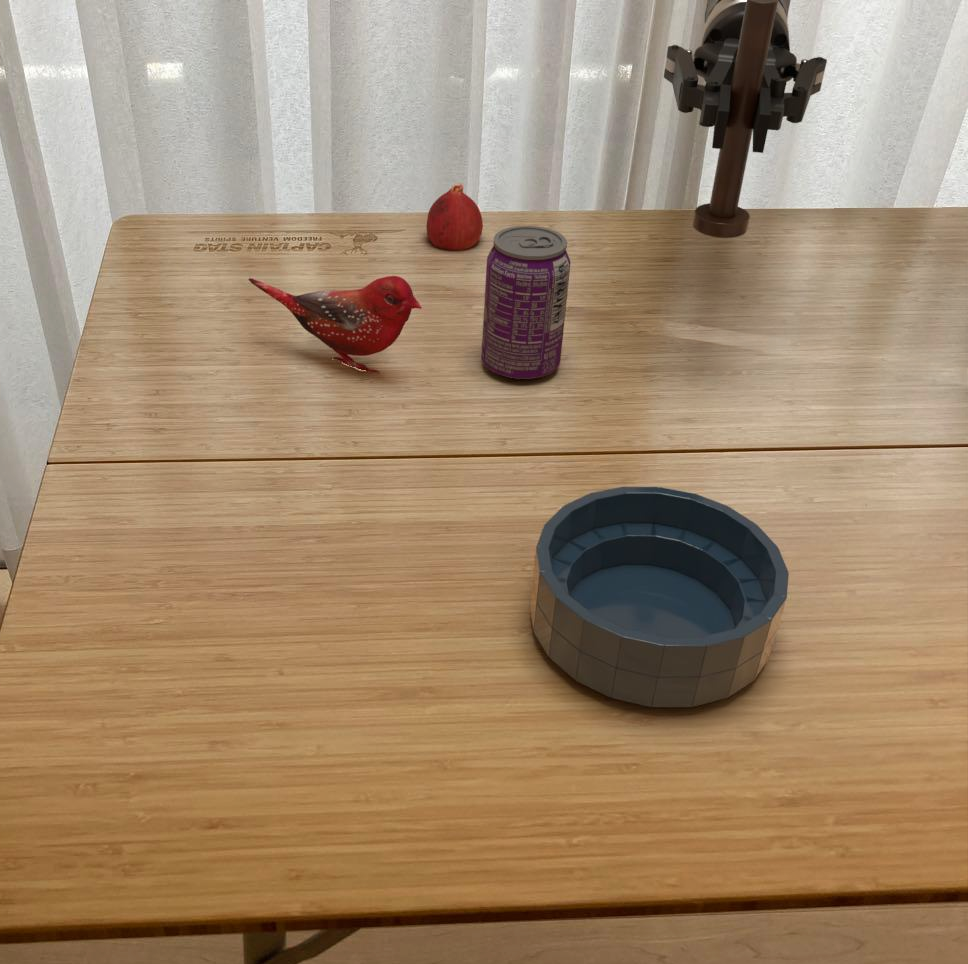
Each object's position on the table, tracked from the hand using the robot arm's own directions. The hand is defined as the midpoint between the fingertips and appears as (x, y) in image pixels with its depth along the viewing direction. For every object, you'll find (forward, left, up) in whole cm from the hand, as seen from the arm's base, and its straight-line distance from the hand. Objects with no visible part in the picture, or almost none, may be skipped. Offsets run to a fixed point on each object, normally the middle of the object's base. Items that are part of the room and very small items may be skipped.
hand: (741, 131), depth 81 cm
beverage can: (+15, -2, -24) cm, 28 cm away
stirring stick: (0, -5, -10) cm, 11 cm away
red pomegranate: (+27, -22, -24) cm, 43 cm away
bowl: (-1, +29, -24) cm, 37 cm away
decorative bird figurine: (+31, +3, -24) cm, 39 cm away
